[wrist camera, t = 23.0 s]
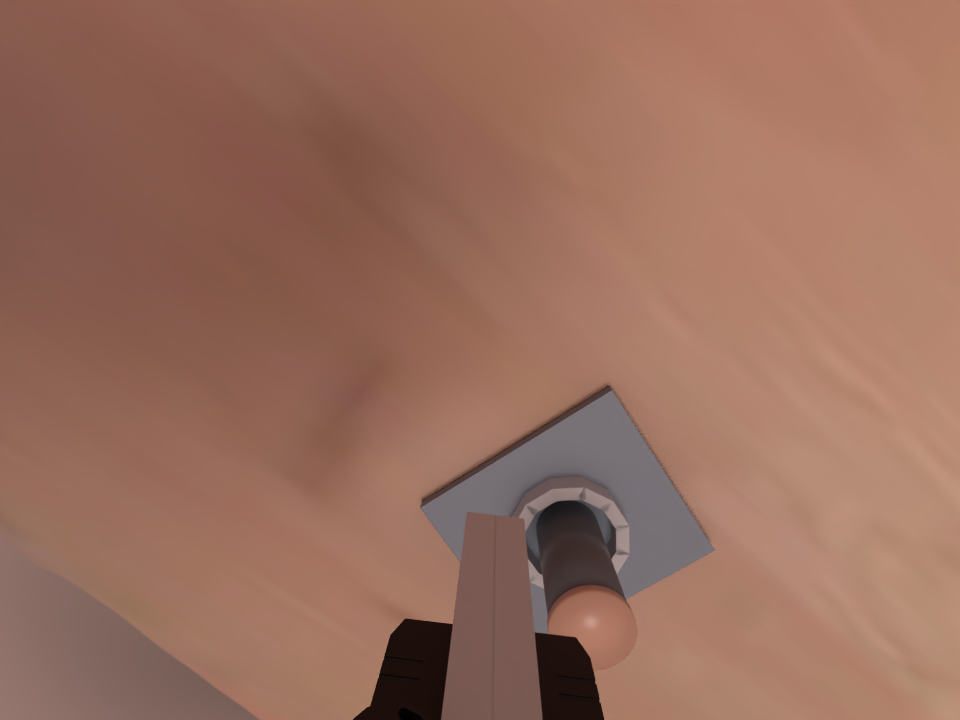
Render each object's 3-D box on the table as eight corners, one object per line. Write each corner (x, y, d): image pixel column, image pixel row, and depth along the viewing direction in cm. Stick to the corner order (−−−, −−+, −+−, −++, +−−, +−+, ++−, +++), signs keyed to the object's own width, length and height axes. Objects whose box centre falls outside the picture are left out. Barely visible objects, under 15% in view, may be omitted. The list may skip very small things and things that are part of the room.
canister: (557, 568, 44) (578, 684, 32) (522, 519, 43) (531, 620, 32) (611, 537, 43) (653, 644, 32) (577, 487, 43) (607, 577, 31)
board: (526, 643, 47) (528, 671, 44) (422, 501, 45) (416, 520, 41) (709, 542, 44) (725, 564, 41) (608, 386, 42) (617, 397, 39)
